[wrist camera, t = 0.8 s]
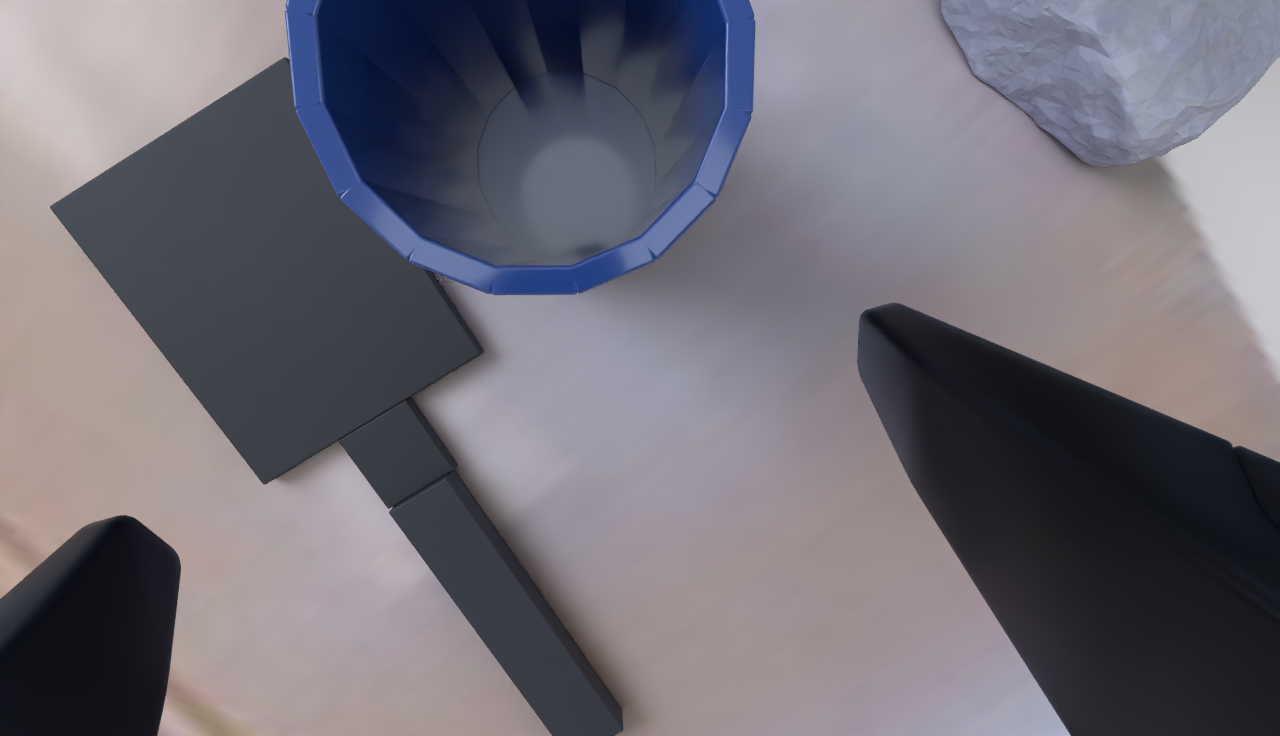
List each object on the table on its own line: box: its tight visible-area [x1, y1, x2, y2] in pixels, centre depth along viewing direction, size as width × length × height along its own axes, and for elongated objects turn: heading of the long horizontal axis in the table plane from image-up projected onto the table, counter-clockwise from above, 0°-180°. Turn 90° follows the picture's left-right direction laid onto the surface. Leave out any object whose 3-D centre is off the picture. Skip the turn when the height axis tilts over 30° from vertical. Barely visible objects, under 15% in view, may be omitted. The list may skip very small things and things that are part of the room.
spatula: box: [50, 57, 623, 736], centre depth 22 cm, size 26×9×1 cm, turn 31°
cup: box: [285, 0, 755, 295], centre depth 15 cm, size 7×7×12 cm
